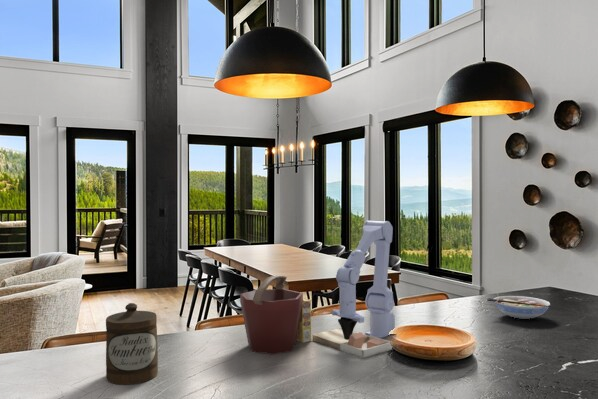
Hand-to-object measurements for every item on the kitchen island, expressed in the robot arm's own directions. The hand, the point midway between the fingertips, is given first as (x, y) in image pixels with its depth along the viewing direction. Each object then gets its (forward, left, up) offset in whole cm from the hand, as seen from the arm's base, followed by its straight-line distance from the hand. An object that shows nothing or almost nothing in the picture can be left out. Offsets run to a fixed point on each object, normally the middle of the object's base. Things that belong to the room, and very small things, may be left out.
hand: (347, 338), depth 181 cm
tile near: (-6, +8, 0) cm, 10 cm away
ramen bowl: (-88, +17, -3) cm, 90 cm away
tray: (-4, +6, -3) cm, 7 cm away
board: (-4, -7, -3) cm, 9 cm away
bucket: (+20, -17, -3) cm, 27 cm away
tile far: (0, +3, +1) cm, 3 cm away
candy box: (+7, -18, -3) cm, 20 cm away
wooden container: (+70, -20, -3) cm, 73 cm away
